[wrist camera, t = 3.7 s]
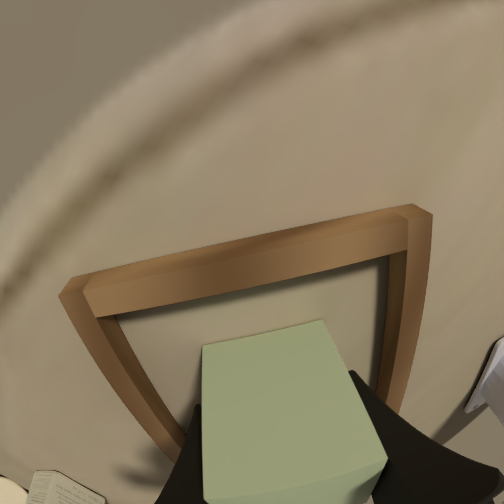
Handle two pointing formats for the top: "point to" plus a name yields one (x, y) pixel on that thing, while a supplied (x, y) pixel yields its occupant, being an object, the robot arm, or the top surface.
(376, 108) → the top surface
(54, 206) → the top surface
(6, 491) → the mug
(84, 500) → the skincare box
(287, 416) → the sage block
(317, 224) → the frame
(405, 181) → the top surface
